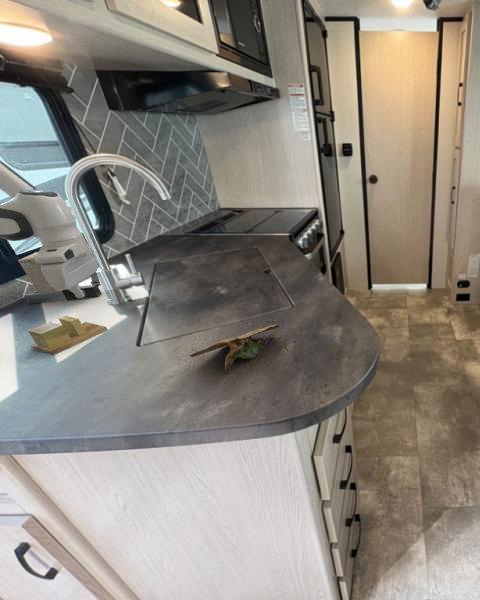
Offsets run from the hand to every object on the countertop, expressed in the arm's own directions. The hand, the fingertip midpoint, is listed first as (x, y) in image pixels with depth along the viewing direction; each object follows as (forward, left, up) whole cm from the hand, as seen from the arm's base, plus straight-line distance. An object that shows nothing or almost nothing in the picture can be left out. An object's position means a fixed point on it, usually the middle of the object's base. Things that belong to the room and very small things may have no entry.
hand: (90, 291), depth 97 cm
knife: (-6, 0, -2) cm, 6 cm away
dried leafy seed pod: (+50, -48, -2) cm, 69 cm away
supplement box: (-12, +6, -2) cm, 14 cm away
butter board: (+9, -28, -2) cm, 29 cm away
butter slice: (+10, -26, -1) cm, 28 cm away
